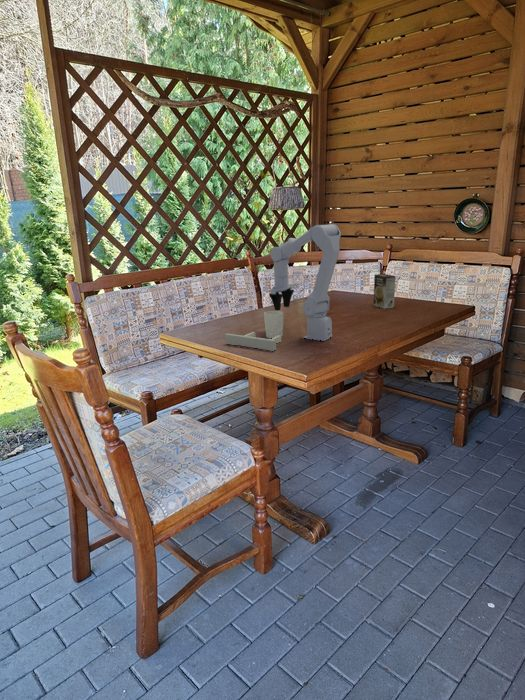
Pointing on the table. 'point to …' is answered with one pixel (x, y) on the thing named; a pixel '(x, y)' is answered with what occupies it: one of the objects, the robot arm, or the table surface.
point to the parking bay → (253, 341)
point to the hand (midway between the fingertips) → (282, 308)
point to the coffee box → (384, 291)
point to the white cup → (273, 323)
